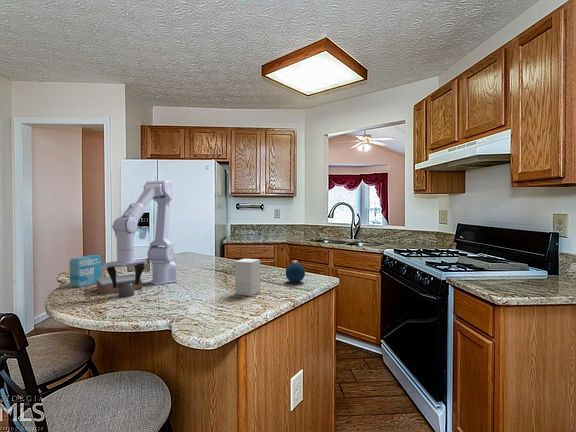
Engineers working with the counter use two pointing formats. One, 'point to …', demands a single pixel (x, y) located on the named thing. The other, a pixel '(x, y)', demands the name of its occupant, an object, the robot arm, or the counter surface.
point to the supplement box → (247, 277)
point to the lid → (121, 278)
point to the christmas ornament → (295, 272)
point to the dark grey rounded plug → (126, 288)
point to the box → (111, 290)
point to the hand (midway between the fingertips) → (126, 285)
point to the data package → (85, 270)
